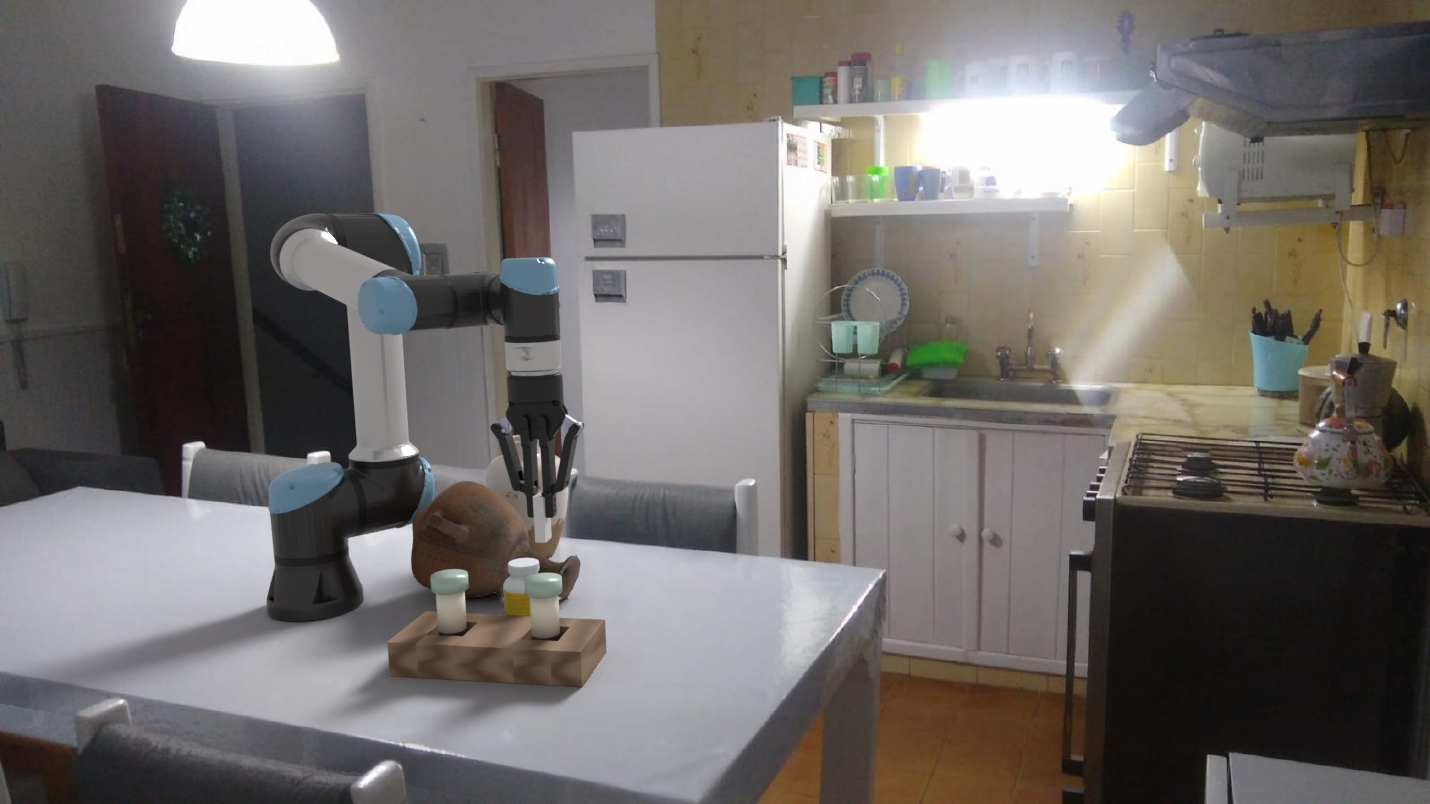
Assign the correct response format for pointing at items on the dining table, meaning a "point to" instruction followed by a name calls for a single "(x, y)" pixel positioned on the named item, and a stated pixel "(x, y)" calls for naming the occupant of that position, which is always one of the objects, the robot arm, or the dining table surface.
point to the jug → (477, 541)
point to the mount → (498, 651)
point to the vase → (502, 486)
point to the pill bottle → (518, 586)
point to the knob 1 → (450, 599)
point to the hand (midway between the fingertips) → (543, 539)
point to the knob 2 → (544, 603)
